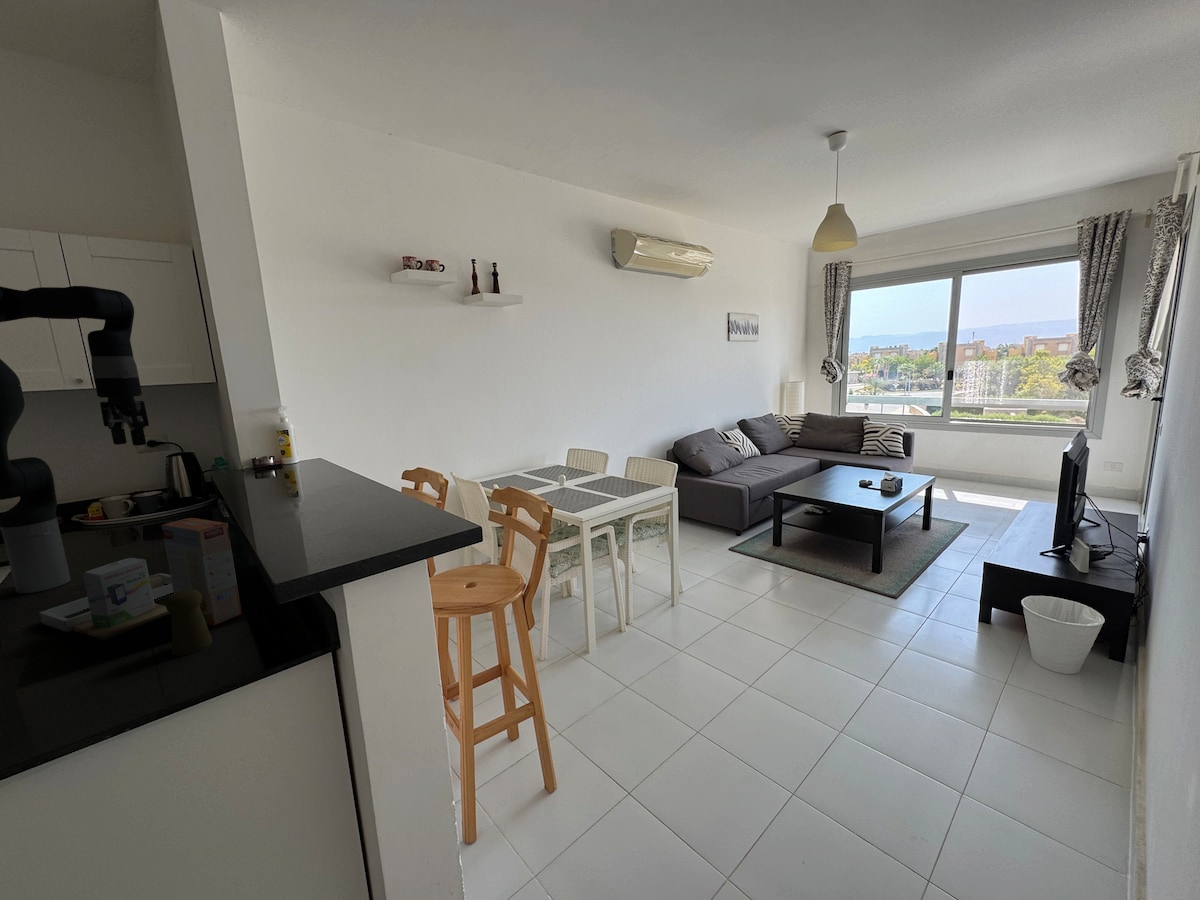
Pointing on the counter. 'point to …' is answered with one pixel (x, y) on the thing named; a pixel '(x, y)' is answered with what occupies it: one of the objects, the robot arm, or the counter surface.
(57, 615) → the white slotted tray
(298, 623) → the counter surface
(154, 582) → the beech block
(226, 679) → the counter surface
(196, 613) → the pepper shaker
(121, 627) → the striped wooden board
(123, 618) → the ink box
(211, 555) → the cracker box
